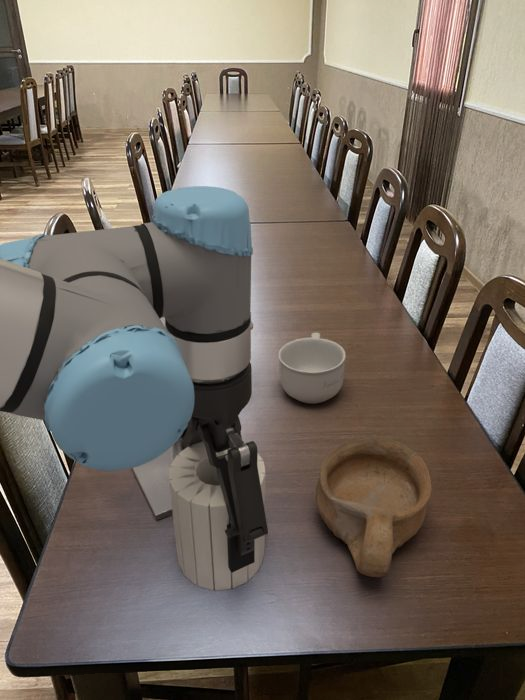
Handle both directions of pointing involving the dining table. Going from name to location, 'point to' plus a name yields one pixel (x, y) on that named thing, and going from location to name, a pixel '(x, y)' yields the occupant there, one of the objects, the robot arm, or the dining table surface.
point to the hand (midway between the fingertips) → (219, 527)
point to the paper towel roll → (206, 521)
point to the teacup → (312, 368)
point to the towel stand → (158, 481)
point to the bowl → (373, 498)
